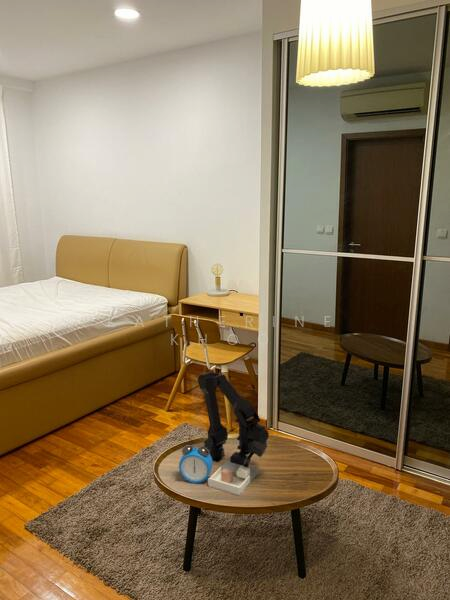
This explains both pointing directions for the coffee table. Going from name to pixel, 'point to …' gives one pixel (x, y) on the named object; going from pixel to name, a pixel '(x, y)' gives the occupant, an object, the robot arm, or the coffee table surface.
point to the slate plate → (235, 467)
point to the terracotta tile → (226, 476)
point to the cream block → (243, 472)
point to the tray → (233, 487)
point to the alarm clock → (195, 463)
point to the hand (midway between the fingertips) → (246, 468)
